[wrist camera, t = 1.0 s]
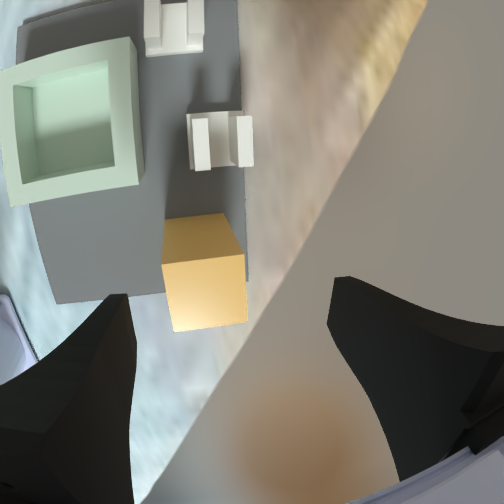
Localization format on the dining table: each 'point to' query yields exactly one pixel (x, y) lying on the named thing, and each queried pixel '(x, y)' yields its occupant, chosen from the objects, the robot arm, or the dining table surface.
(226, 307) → the connector plug
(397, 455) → the robot arm
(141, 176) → the end holder
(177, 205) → the mat
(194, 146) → the cable clip
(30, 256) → the dining table surface
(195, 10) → the cable clip
